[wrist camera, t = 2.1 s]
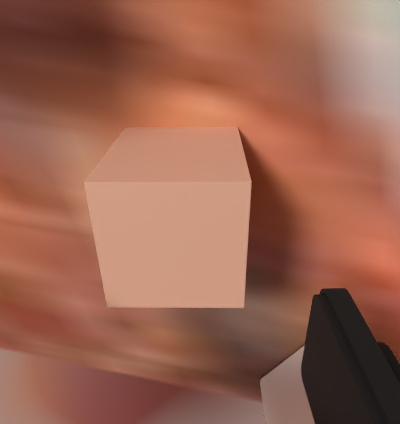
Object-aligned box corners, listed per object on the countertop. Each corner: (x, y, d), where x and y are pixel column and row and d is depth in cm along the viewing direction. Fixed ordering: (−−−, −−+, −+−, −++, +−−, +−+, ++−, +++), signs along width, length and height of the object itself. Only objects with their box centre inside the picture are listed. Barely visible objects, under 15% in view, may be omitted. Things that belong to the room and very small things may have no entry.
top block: (237, 126, 16) (251, 181, 11) (234, 223, 18) (243, 307, 13) (125, 127, 16) (84, 181, 11) (136, 223, 18) (107, 307, 13)
